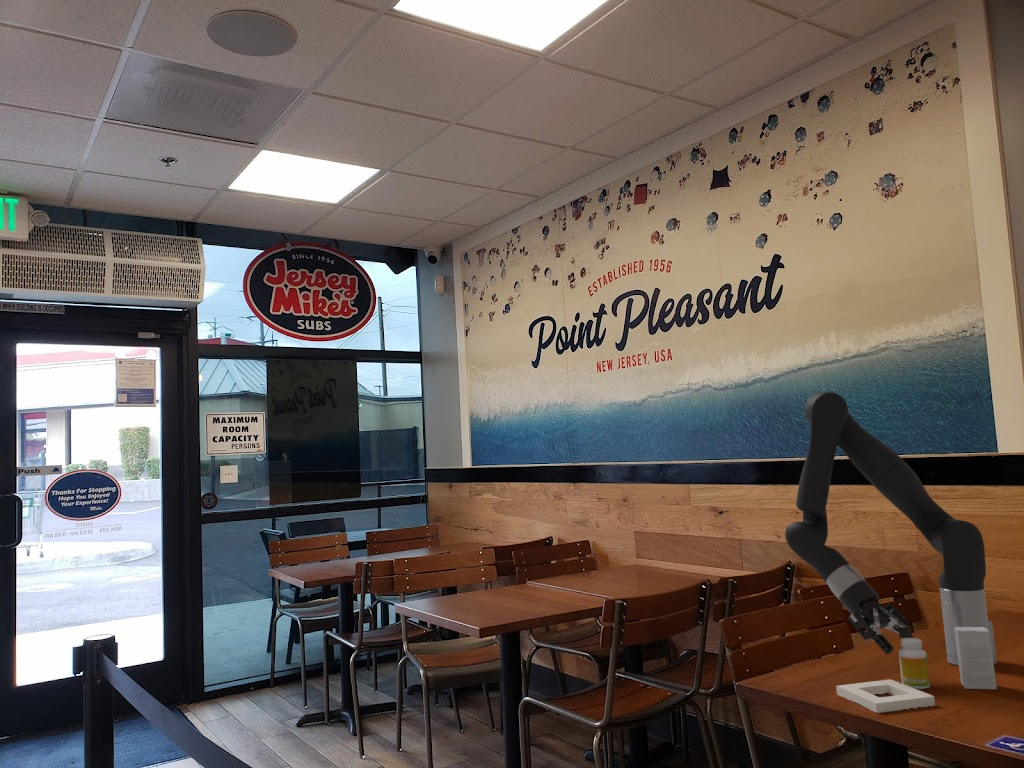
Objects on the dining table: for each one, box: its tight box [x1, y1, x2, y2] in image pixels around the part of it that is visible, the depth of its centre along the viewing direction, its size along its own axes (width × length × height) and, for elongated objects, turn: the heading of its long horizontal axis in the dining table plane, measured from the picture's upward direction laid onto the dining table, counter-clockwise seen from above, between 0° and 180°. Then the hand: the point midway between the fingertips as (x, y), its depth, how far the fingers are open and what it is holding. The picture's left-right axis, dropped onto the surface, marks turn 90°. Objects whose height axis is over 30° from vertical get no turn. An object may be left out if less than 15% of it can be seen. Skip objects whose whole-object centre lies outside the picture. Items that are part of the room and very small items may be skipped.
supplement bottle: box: [898, 637, 931, 690], centre depth 168 cm, size 5×5×10 cm
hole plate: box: [835, 678, 936, 714], centre depth 159 cm, size 13×13×2 cm
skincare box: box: [954, 627, 998, 691], centre depth 165 cm, size 6×4×12 cm
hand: (902, 648), depth 170 cm, fingers open, 8 cm apart
